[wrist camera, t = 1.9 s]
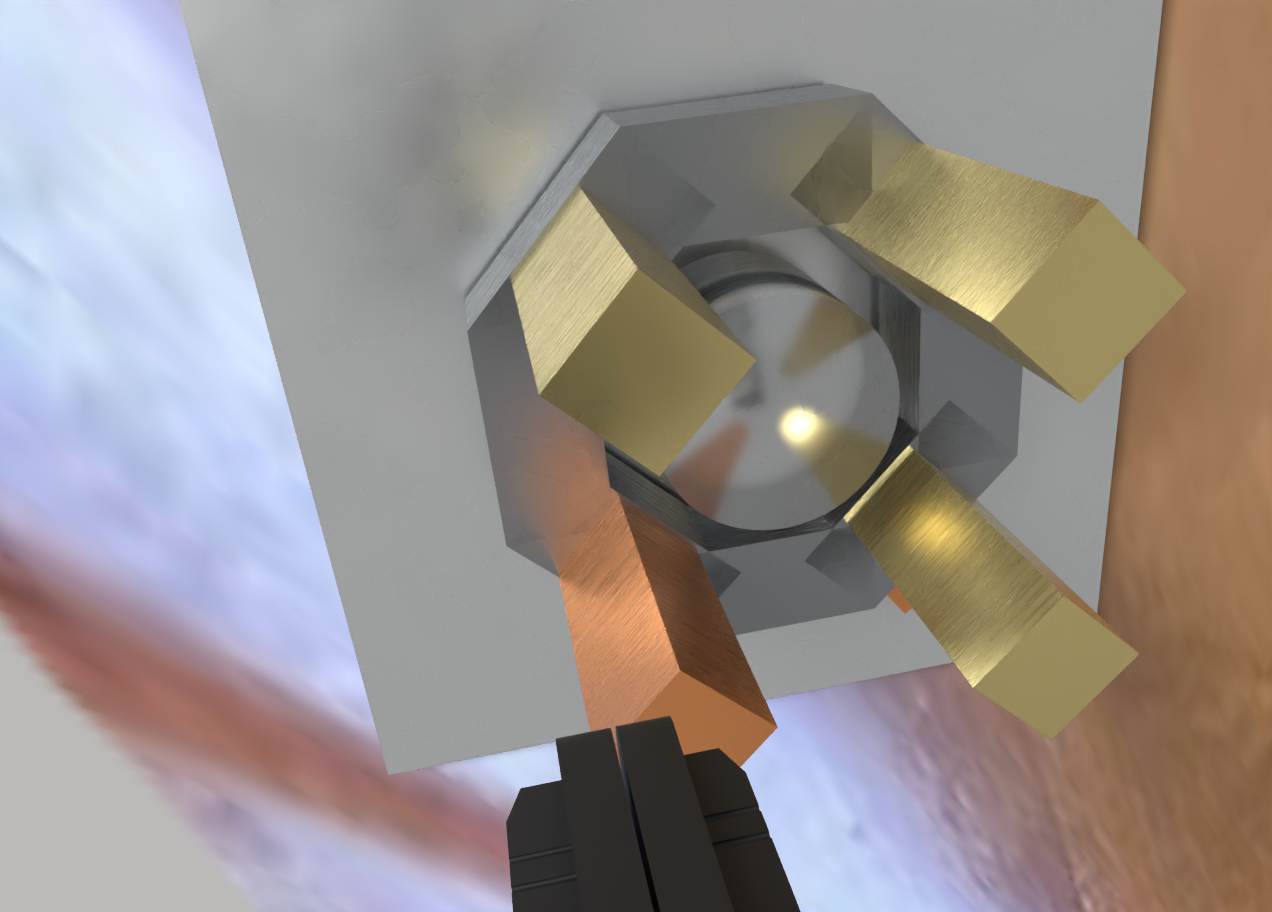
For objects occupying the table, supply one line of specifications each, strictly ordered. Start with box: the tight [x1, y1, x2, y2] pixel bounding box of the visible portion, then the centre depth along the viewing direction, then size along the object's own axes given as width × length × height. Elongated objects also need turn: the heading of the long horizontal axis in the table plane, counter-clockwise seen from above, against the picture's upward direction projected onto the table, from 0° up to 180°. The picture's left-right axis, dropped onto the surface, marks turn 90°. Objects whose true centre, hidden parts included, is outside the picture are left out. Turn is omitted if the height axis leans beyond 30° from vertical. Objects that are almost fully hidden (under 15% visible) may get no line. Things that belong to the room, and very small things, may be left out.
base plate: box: [179, 0, 1163, 775], centre depth 25 cm, size 22×22×5 cm
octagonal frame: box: [465, 84, 1187, 767], centre depth 22 cm, size 13×13×9 cm
